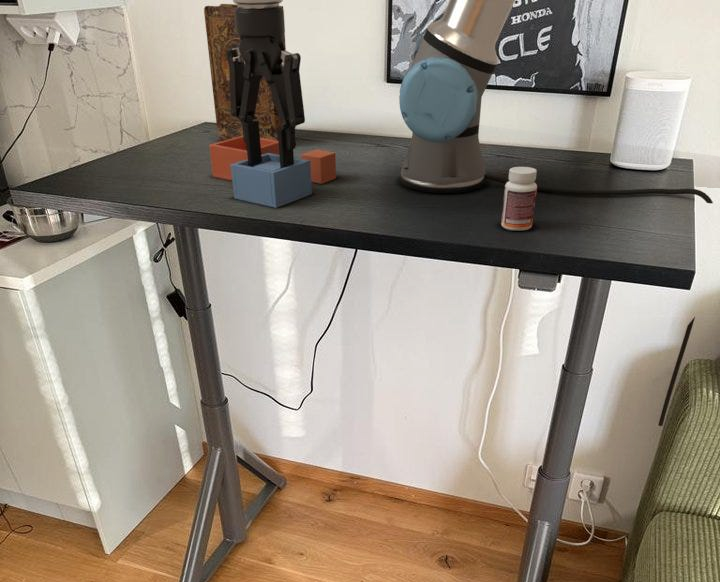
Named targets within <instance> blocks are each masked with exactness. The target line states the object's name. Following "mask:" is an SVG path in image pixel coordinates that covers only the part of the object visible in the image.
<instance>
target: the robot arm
mask: <svg viewBox="0 0 720 582" xmlns="http://www.w3.org/2000/svg"><path fill="white" fill-rule="evenodd" d="M283 1H284V0H232V2H233V4H237V6H238V8H235V10H234V16H235V26H236V33H237V35H238V36H239V37H240V44H239V47H238V48H233V49H227V50H226V57H227V60H228V64H229V78H230V103H231V115H232V116H233V117H237V118H239V119H240V121H241V122H242V130H243V139H244V142H245V143H246V147H247V157H248V165H251V166H252V165H255V164H258V163H261V162H262V156H261V144H260V133H259V121H253V120H255V119H257V117H256V116H255V110H256V104H257V97H258V91H259V85H260V80H261V79H262V77H263V76H264V77H265V80H266V82H267V83H268V84H269V86H270V90H271V93H272V96H273V99H274V103H275V106H276V109H277V113H278V116H279V119H280V123H281V126H280V127H279V129H278V142H279V156H280V169H281V168H284V167H287V166H290V165H293V164H294V158H295V156H294V150H295V149H296V146H297V142H296V141H297V140H296V128H297V126H300V125H302V124H305V122H306V117H305V109H304V107H305V106H304V100H303V91H302V90H303V89H302V83H301V74H300V68H301V59H302V56H301V55H300V53H299V52H295V53H293V52H290V51H288V50H286V49H287V48H286V49H285V46H286V45H285V46H284V44H283V35H284V33H285V34H286V25H285V10H284V8H283V9H282V7H279V6H280V4H281V3H282V2H283ZM515 2H516V0H449V1H448V3H447V5H446V8H445V10H444V13H443V16H442V17H441V18H440V19H439V20H435V21H433V22H432V23H430V24H428V25H427V27H426V30H425V32H424V35H420V36H419V37H418V38H417V39H416V41H415V47H414V51H413V58H414V59H413V61H412V64H411V67H410V69H408V72H407V73H406V74H405V75H404V77H403V78H402V82H401V83H400V88H399V96H398V98H399V110H400V115H401V116H402V120H403V121H404V124H405V125H406V127H407V128H408V129H409V130H410V131H411V139H410V142H409V145H408V149H407V151H406V153H405V157H404V160H403V162H402V166H401V170H400V182H401V184H402V185H403V186H404V187H406V188H408V189H410V190H411V189H412V190H414V191H415V190H416V191H418V192H423V193H424V192H425V193H431V194H458V193H466V192H470V191H471V192H472V191H475V190H478V189H480V188H481V187H483V186H484V185H485V183H486V180H487V181H492V182H497V183H501V184H504V185H506V183H507V182H508V181H510V180H509V178H506V177H501V176H497V175H493V174H488V173H486V167H485V162H484V158H483V153H482V148H481V143H480V138H479V135H480V122H481V112H482V111H481V110H482V97H483V95H484V93H485V91H486V89H487V87H488V85H489V82H490V80H491V78H492V76H493V74H494V71H495V69H496V67H497V65H498V63H499V58H498V55H497V50H496V43H497V41H498V39H499V37H500V35H501V32H502V30H503V28H504V26H505V23H506V21H507V20H508V17H509V16H510V13H511V11H512V8H513V6H514V4H515ZM244 61H245V65H244ZM282 61H283V63H282ZM282 66H283V67H284V70H283V67H282ZM275 74H277V75H276V76H274V75H275ZM238 107H239V108H238ZM287 118H288V120H287ZM536 185H537V191H539V192H545V193H547V192H548V193H555V194H566V195H583V196H633V195H695V196H698V197H699V198H701V199H703V201H705V203H706V204H714V202H713V200H712V199H711V197H710V196H709V195H708V194H707V193H705V192H704V191H702V190H700V189H696V188H638V189H637V188H636V189H583V188H581V189H580V188H566V187H557V186H548V185H547V186H546V185H539V184H536ZM695 320H696V316H694V317H693V318H692V319H691V321H690V322H689V323H688V324H687V325H686V329H685V332H684V336H683V340H682V343H681V346H680V349H679V353H678V355H677V358H676V362H675V366H674V369H673V372H672V374H671V378H670V382H669V385H668V389H667V392H666V395H665V399H664V402H663V406H662V410H661V413H660V417H659V421H658V426H659V427H663V426H664V422H665V418H666V414H667V411H668V407H669V404H670V401H671V397H672V393H673V390H674V387H675V384H676V380H677V378H678V374H679V371H680V368H681V366H682V365H681V364H682V361H683V358H684V356H685V355H684V354H685V351H686V348H687V345H688V342H689V339H690V335H691V333H692V329H693V325H694V322H695Z"/></svg>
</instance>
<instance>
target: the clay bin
mask: <svg viewBox="0 0 720 582" xmlns="http://www.w3.org/2000/svg"><path fill="white" fill-rule="evenodd" d="M260 144H261V155H263V154H266V153H271V154H277V155H279V142H278V141H276V140H270V139H265V138H260ZM208 147H209V154H210V162H211V163H210V164H211V171H212V178H213V177H214V178H218V179H221V180H226V181H227V180H228V181H231V182H232V172H231V164H234V163H237V162H240V161H243V160H247V159H248V157H247V147H246V143H245V142H244V139H243V136H240V137H236V138H232V139H229V140H225V141H224V140H221V141H218V142H215V143H212V144H209V145H208Z"/></svg>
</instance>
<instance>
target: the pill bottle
mask: <svg viewBox="0 0 720 582" xmlns="http://www.w3.org/2000/svg"><path fill="white" fill-rule="evenodd" d="M537 172H538V171H537V168H534V167H530V166H514V167H511V168H510V169H509V171H508V179H509V180H510V181H508V182H507V183H506V184H504V193H503V201H502V212H501V220H500V221H501V222H500V224H501V225H500V226H501V227H502V228H503V229H505V230H507V231H514V232H517V231H518V232H522V231H528V230H530V229H532V226H533V221H534V214H535V207H536V199H537V192H538V190H537V185H538V184H537V183H536V182H535V181H536V179H537Z"/></svg>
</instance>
